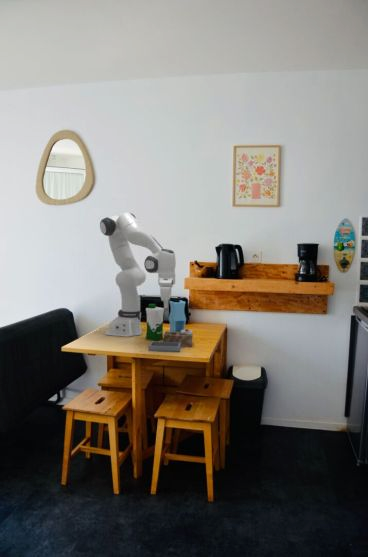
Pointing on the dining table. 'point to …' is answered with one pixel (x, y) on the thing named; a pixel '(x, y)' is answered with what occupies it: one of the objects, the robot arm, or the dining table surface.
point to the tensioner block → (179, 337)
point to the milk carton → (154, 322)
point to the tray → (165, 346)
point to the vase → (177, 316)
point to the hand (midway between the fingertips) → (166, 307)
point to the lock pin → (166, 312)
